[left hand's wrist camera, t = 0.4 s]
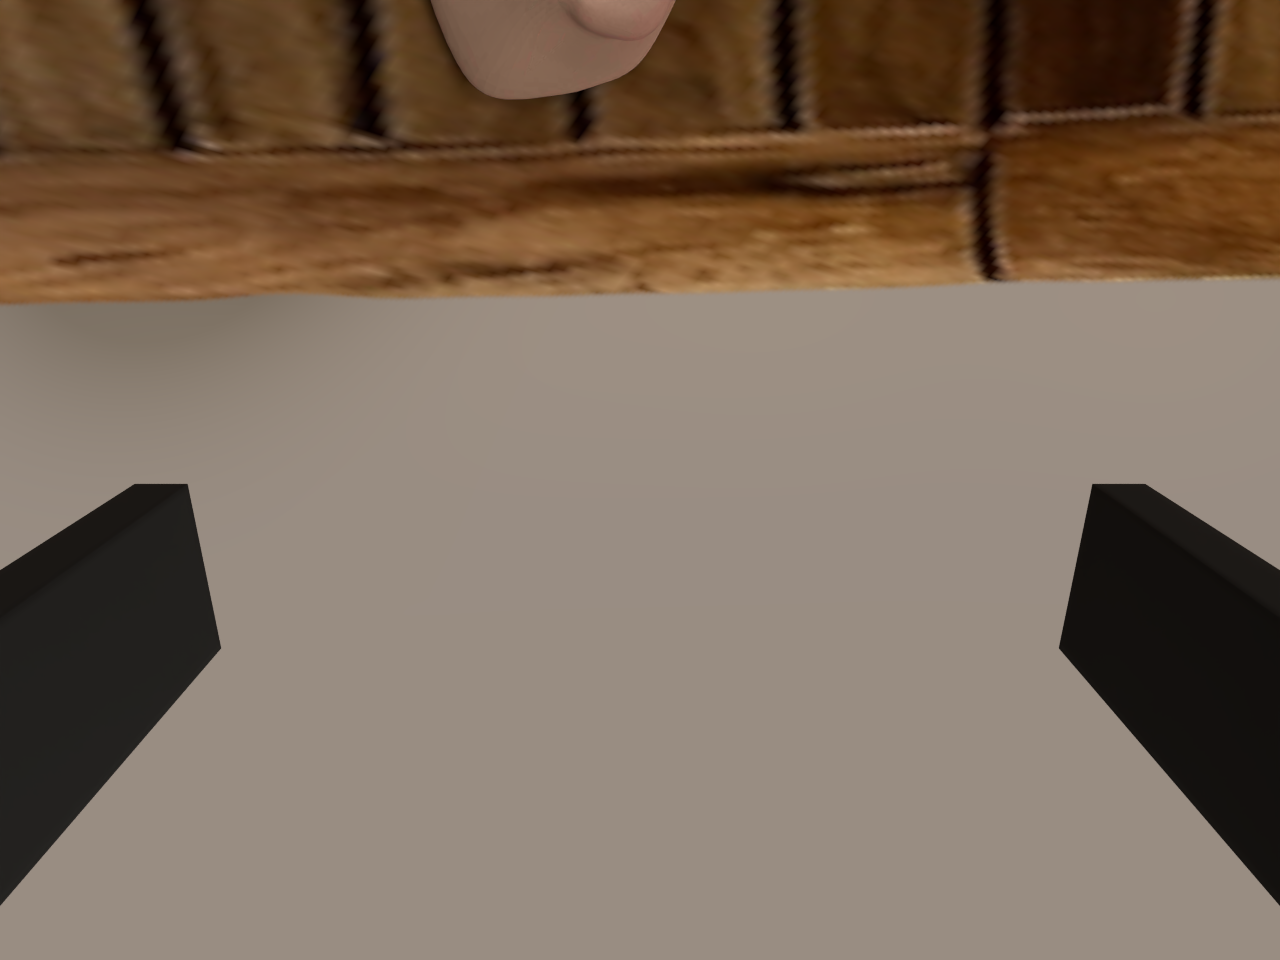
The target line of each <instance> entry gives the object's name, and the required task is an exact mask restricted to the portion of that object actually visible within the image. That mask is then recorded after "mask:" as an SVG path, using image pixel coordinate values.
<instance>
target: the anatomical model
mask: <svg viewBox="0 0 1280 960" xmlns="http://www.w3.org/2000/svg"><path fill="white" fill-rule="evenodd" d="M675 1H676V0H431V3H432V6H433V9H434V12H435V15H436V17H437V20H438V22H439V25H440V27H441V30H442V32H443V35H444V37H445V40H446V42H447V44H448V46H449V48H450V50H451V52H452V54H453V56H454V58H455V60H456V62H457V64H458V65H459V67H460V69H461V70H462V72H463V74H464V75H465V76H466V78H467V79H468V80H469V81H470V82H471V84H472V85H473V86H475V87H476V88H477V89H478V90H480V91H481V92H483V93H484V94H486V95H489V96H491V97H495V98H500V99H531V98H538V97H546V96H553V95H561V94H567V93H572V92H577V91H581V90H584V89H587V88H590V87H593V86H596V85H599V84H602V83H606V82H609V81H611V80H614V79H617V78H619V77H621V76H623V75H624V74H626V73H628V72H629V71H631V70H632V69H633V68H635V67H636V66H637V65H638V64H639V63H640V62H641V60H642V59H643V58H644V57H645V55H646V54H647V53H648V51H649V50H650V48H651V46H652V45H653V43H654V42H655V40H656V38H657V36H658V34H659V32H660V31H661V29H662V27H663V25H664V23H665V21H666V19H667V17H668V15H669V13H670V11H671V9H672V7H673V5H674V3H675Z"/></svg>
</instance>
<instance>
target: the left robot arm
mask: <svg viewBox="0 0 1280 960" xmlns="http://www.w3.org/2000/svg"><path fill="white" fill-rule="evenodd" d="M220 649H221V646H220V640H219V635H218V631H217V626H216V621H215V616H214V611H213V606H212V601H211V596H210V591H209V587H208V582H207V577H206V572H205V567H204V562H203V557H202V553H201V547H200V543H199V538H198V533H197V528H196V523H195V518H194V513H193V508H192V504H191V499H190V494H189V489H188V484H134V485H132V486H131V487H129V488H128V489H126V490H125V491H123V492H121V493H120V494H118V495H117V496H115V497H114V498H112V499H111V500H109V501H107V502H106V503H104V504H103V505H101V506H100V507H98V508H97V509H95V510H94V511H92V512H90V513H89V514H87V515H86V516H84V517H82V518H81V519H79V520H78V521H76V522H75V523H73V524H72V525H70V526H68V527H67V528H65V529H64V530H62V531H61V532H59V533H58V534H56V535H54V536H53V537H51V538H50V539H48V540H47V541H45V542H43V543H42V544H40V545H39V546H37V547H36V548H34V549H33V550H31V551H29V552H28V553H26V554H25V555H23V556H22V557H20V558H19V559H17V560H15V561H14V562H12V563H11V564H9V565H8V566H6V567H5V568H3V569H1V570H0V905H1V904H2V903H3V902H4V901H5V899H6V898H7V897H8V896H9V895H10V894H11V892H12V891H13V890H14V889H15V888H16V887H17V885H18V884H19V883H20V882H21V881H22V880H23V878H24V877H25V876H26V875H27V874H28V873H29V871H30V870H31V869H32V868H33V867H34V866H35V864H36V863H37V862H38V861H39V860H40V859H41V857H42V856H43V855H44V854H45V853H46V852H47V851H48V849H49V848H50V847H51V846H52V845H53V844H54V842H55V841H56V840H57V839H58V838H59V837H60V835H61V834H62V833H63V832H64V831H65V830H66V828H67V827H68V826H69V825H70V824H71V822H72V821H73V820H74V819H75V818H76V817H77V816H78V814H79V813H80V812H81V811H82V810H83V809H84V807H85V806H86V805H87V804H88V803H89V802H90V800H91V799H92V798H93V797H94V796H95V795H96V793H97V792H98V791H99V790H100V789H101V788H102V786H103V785H104V784H105V783H106V782H107V781H108V779H109V778H110V777H111V776H112V775H113V774H114V772H115V771H116V770H117V769H118V768H119V767H120V765H121V764H122V763H123V762H124V761H125V760H126V758H127V757H128V756H129V755H130V754H131V753H132V751H133V750H134V749H135V748H136V747H137V746H138V744H139V743H140V742H141V741H142V740H143V739H144V737H145V736H146V735H147V734H148V733H149V732H150V730H151V729H152V728H153V727H154V726H155V725H156V724H157V722H158V721H159V720H160V719H161V718H162V717H163V715H164V714H165V713H166V712H167V711H168V709H169V708H170V707H171V706H172V705H173V704H174V703H175V701H176V700H177V699H178V698H179V697H180V696H181V694H182V693H183V692H184V691H185V690H186V689H187V687H188V686H189V685H190V684H191V683H192V682H193V680H194V679H195V678H196V677H197V676H198V675H199V673H200V672H201V671H202V670H203V669H204V668H205V666H206V665H207V664H208V663H209V662H210V661H211V659H212V658H213V657H214V656H215V655H216V654H217V652H218V651H219V650H220ZM1059 649H1060V650H1061V651H1062V652H1063V654H1064V655H1065V656H1066V657H1067V658H1068V659H1069V661H1070V662H1071V663H1072V664H1073V665H1074V666H1075V668H1076V669H1077V670H1078V671H1079V672H1080V673H1081V675H1082V676H1083V677H1084V678H1085V679H1086V680H1087V682H1088V683H1089V684H1090V685H1091V686H1092V687H1093V689H1094V690H1095V691H1096V692H1097V693H1098V694H1099V696H1100V697H1101V698H1102V699H1103V700H1104V701H1105V703H1106V704H1107V705H1108V706H1109V707H1110V708H1111V710H1112V711H1113V712H1114V713H1115V714H1116V715H1117V717H1118V718H1119V719H1120V720H1121V721H1122V722H1123V723H1124V725H1125V726H1126V727H1127V728H1128V729H1129V731H1130V732H1131V733H1132V734H1133V735H1134V736H1135V737H1136V739H1137V740H1138V741H1139V742H1140V743H1141V744H1142V746H1143V747H1144V748H1145V749H1146V750H1147V751H1148V753H1149V754H1150V755H1151V756H1152V757H1153V758H1154V760H1155V761H1156V762H1157V763H1158V764H1159V765H1160V767H1161V768H1162V769H1163V770H1164V771H1165V772H1166V774H1167V775H1168V776H1169V777H1170V778H1171V779H1172V781H1173V782H1174V783H1175V784H1176V785H1177V786H1178V788H1179V789H1180V790H1181V791H1182V792H1183V793H1184V795H1185V796H1186V797H1187V798H1188V799H1189V800H1190V802H1191V803H1192V804H1193V805H1194V806H1195V807H1196V809H1197V810H1198V811H1199V812H1200V813H1201V814H1202V816H1203V817H1204V818H1205V819H1206V820H1207V821H1208V823H1209V824H1210V825H1211V826H1212V827H1213V828H1214V830H1215V831H1216V832H1217V833H1218V834H1219V835H1220V837H1221V838H1222V839H1223V840H1224V841H1225V842H1226V844H1227V845H1228V846H1229V847H1230V848H1231V849H1232V851H1233V852H1234V853H1235V854H1236V855H1237V856H1238V857H1239V859H1240V860H1241V861H1242V862H1243V863H1244V865H1245V866H1246V867H1247V868H1248V869H1249V870H1250V871H1251V873H1252V874H1253V875H1254V876H1255V877H1256V878H1257V880H1258V881H1259V882H1260V883H1261V884H1262V885H1263V887H1264V888H1265V889H1266V890H1267V891H1268V892H1269V894H1270V895H1271V896H1272V897H1273V898H1274V899H1275V901H1276V902H1277V903H1278V904H1279V905H1280V570H1279V569H1277V568H1276V567H1274V566H1272V565H1271V564H1269V563H1268V562H1266V561H1265V560H1263V559H1261V558H1260V557H1258V556H1257V555H1255V554H1254V553H1252V552H1251V551H1249V550H1247V549H1246V548H1244V547H1243V546H1241V545H1240V544H1238V543H1237V542H1235V541H1233V540H1232V539H1230V538H1229V537H1227V536H1226V535H1224V534H1222V533H1221V532H1219V531H1218V530H1216V529H1215V528H1213V527H1212V526H1210V525H1208V524H1207V523H1205V522H1204V521H1202V520H1201V519H1199V518H1197V517H1196V516H1194V515H1193V514H1191V513H1190V512H1188V511H1187V510H1185V509H1183V508H1182V507H1180V506H1179V505H1177V504H1176V503H1174V502H1173V501H1171V500H1169V499H1168V498H1166V497H1165V496H1163V495H1162V494H1160V493H1158V492H1157V491H1155V490H1154V489H1152V488H1151V487H1149V486H1148V485H1146V484H1092V489H1091V494H1090V499H1089V504H1088V508H1087V513H1086V518H1085V523H1084V528H1083V533H1082V538H1081V543H1080V548H1079V552H1078V557H1077V562H1076V567H1075V572H1074V577H1073V582H1072V587H1071V592H1070V596H1069V601H1068V606H1067V611H1066V616H1065V621H1064V626H1063V631H1062V635H1061V640H1060V645H1059Z"/></svg>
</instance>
